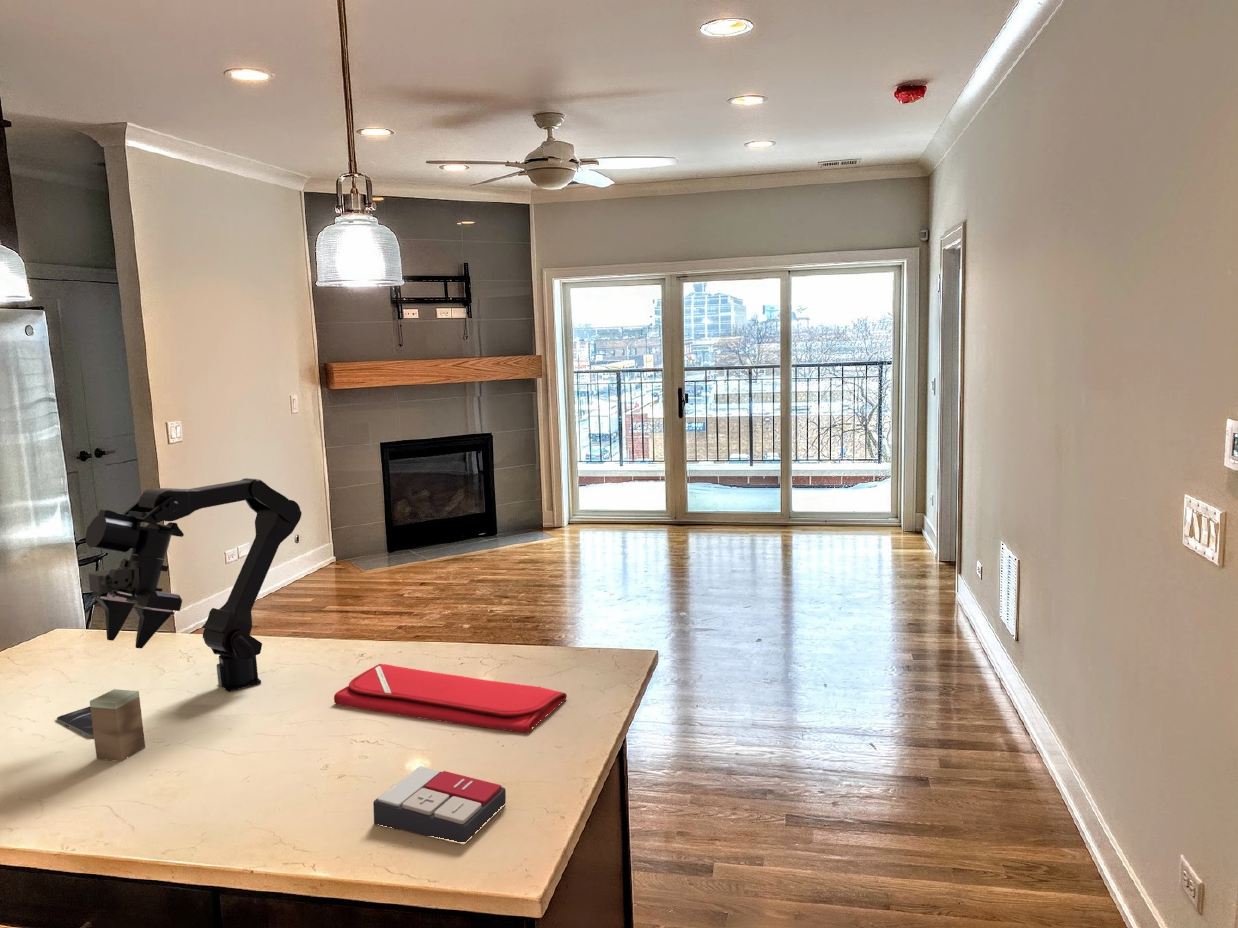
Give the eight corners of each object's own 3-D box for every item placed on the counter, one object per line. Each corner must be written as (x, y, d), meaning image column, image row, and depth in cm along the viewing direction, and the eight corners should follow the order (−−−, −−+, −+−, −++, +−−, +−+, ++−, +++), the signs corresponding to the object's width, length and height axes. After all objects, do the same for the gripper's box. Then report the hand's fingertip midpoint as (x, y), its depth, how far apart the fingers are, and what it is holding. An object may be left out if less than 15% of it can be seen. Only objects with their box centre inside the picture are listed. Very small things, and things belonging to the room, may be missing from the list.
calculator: (464, 822, 114) (371, 796, 120) (464, 852, 115) (372, 825, 120) (506, 782, 124) (419, 761, 130) (507, 810, 125) (419, 787, 130)
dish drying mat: (528, 737, 147) (527, 716, 146) (332, 707, 162) (330, 688, 161) (567, 701, 161) (566, 682, 161) (384, 677, 176) (383, 659, 176)
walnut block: (120, 745, 148) (113, 689, 146) (145, 747, 147) (138, 691, 145) (96, 759, 143) (89, 701, 142) (121, 761, 142) (114, 703, 140)
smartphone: (97, 703, 165) (135, 720, 156) (97, 708, 165) (135, 725, 157) (53, 718, 159) (91, 736, 150) (54, 722, 159) (91, 741, 151)
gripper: (75, 544, 155) (50, 632, 152) (132, 555, 145) (107, 649, 142) (135, 554, 164) (112, 637, 161) (193, 564, 154) (170, 653, 151)
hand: (124, 644), depth 154 cm, fingers open, 9 cm apart
